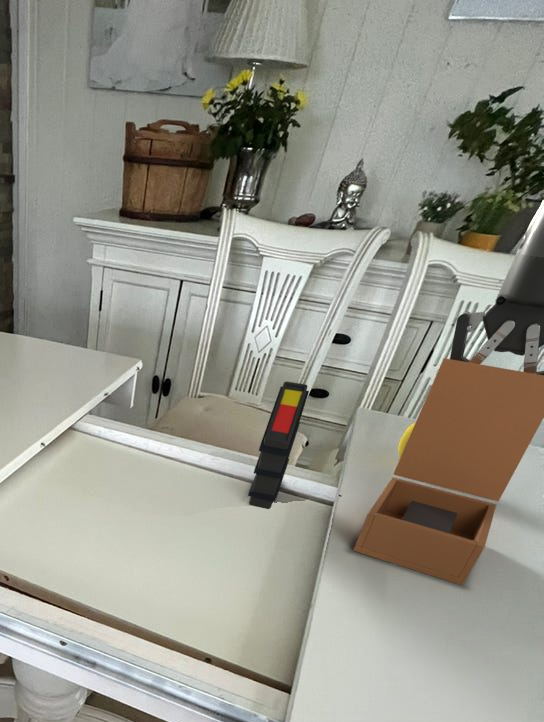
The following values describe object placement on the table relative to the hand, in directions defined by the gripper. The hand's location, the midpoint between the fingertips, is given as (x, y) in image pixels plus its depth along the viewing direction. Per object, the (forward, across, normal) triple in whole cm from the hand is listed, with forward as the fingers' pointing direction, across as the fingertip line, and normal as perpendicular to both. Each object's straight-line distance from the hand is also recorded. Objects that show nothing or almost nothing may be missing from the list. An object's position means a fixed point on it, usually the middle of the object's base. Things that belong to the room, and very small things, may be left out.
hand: (481, 409), depth 75 cm
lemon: (+10, +6, -14) cm, 18 cm away
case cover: (+1, 0, +5) cm, 5 cm away
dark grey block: (+13, 0, +13) cm, 19 cm away
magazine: (+14, +21, +12) cm, 28 cm away
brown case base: (+14, 0, +13) cm, 19 cm away
